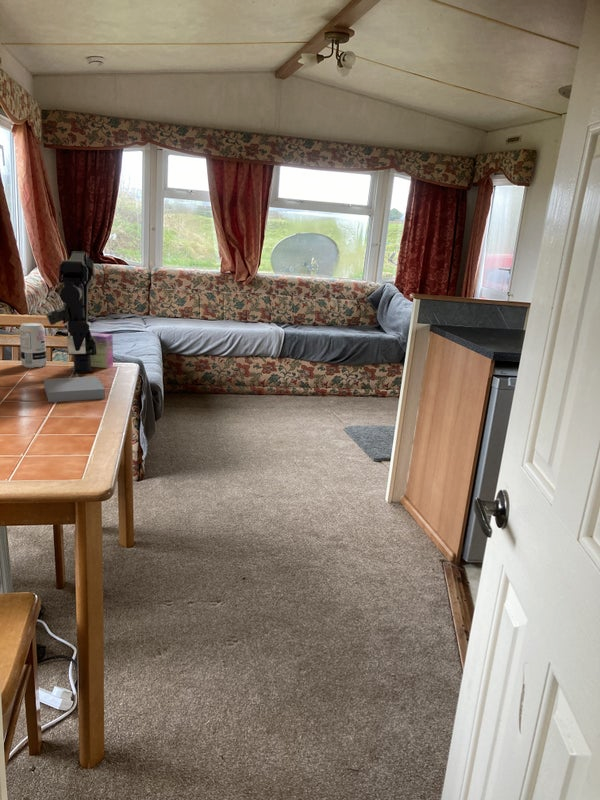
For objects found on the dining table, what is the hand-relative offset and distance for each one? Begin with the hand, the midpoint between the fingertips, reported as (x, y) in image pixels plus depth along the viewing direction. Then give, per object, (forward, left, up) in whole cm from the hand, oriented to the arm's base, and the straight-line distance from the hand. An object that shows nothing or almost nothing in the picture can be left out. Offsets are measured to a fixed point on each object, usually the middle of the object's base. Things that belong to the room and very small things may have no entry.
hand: (76, 349), depth 197 cm
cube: (0, 0, -1) cm, 1 cm away
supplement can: (-27, -12, -11) cm, 32 cm away
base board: (+13, -3, -11) cm, 17 cm away
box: (-23, +9, -12) cm, 27 cm away
